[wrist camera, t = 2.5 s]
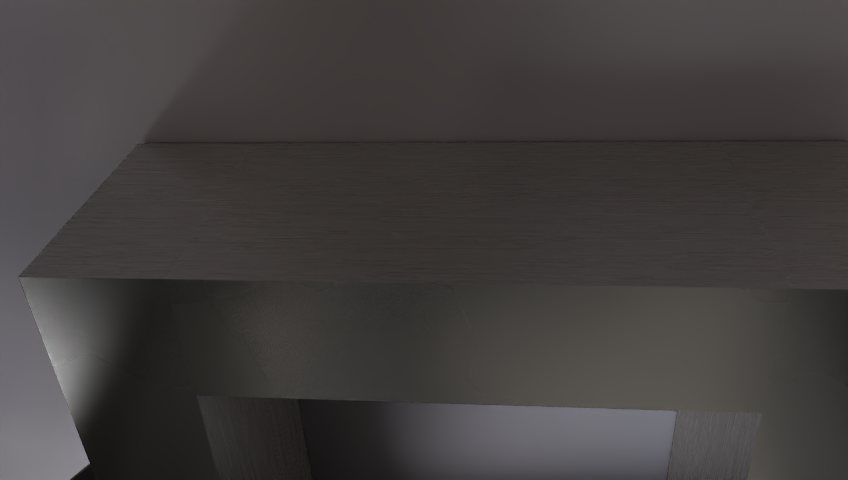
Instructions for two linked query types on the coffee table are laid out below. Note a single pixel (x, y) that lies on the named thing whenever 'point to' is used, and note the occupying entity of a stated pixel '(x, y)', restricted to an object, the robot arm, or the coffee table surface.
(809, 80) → the coffee table surface
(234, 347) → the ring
